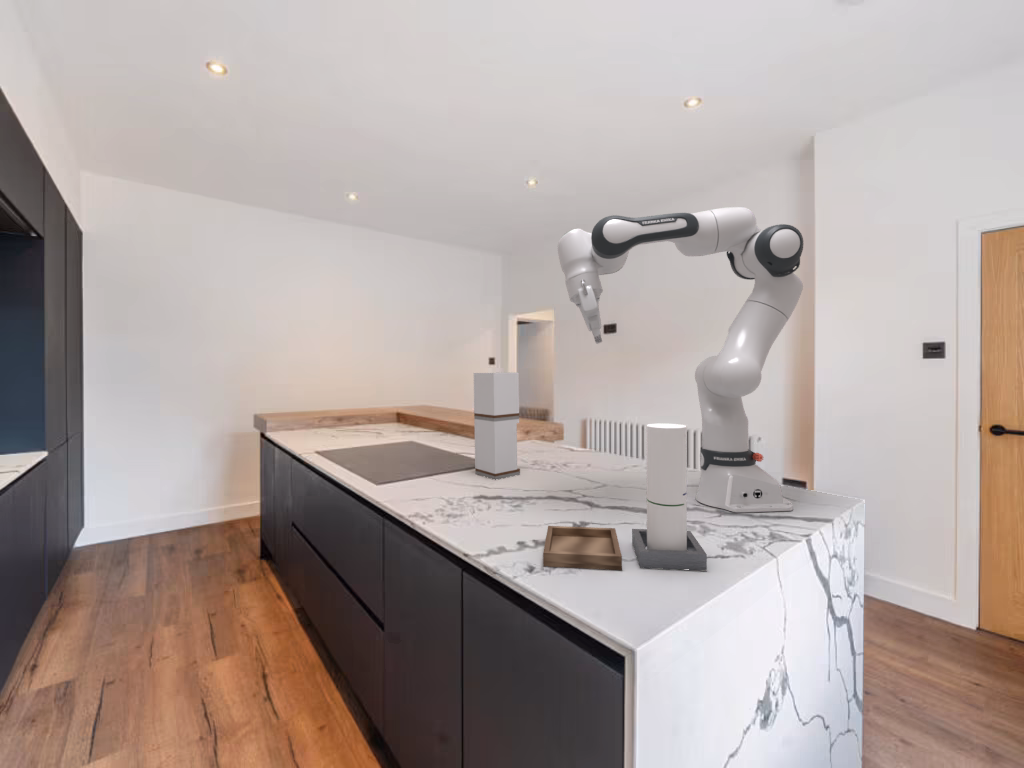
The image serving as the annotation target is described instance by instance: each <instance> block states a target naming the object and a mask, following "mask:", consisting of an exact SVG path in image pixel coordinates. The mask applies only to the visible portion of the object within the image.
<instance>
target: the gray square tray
mask: <svg viewBox="0 0 1024 768" xmlns="http://www.w3.org/2000/svg"><path fill="white" fill-rule="evenodd" d="M631 544H632V547H633V550H635V551H634V554H635V553H636V554H635V555H636V556H637V557H636V556H635V557H636V560H637V563H638V567H639V568H640V569H650V568H663V569H662V570H670V569H689V570H688V571H690V570H707V571H708V567H707V566H708V563H707V561H708V560H707V559H708V554H707V552H705V550H704V548H703V547H702V546H701V545H700V543H699V541H698V540H697V539H696V537H695V535H694V534H693V533H692V531H691V530H687V550H688V551H676V550H653V549H647V528H645V529H643V528H632V529H631Z"/></svg>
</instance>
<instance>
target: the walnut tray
mask: <svg viewBox="0 0 1024 768" xmlns="http://www.w3.org/2000/svg"><path fill="white" fill-rule="evenodd" d="M546 530H547V531H546V535H545V541H544V547H543V550H542V551H543V552H542V553H543V555H542V558H543V559H542V560H543V561H542V563H543V564H542V565H543V567H546V566H548V568H549V567H550V568H551V567H552V568H569V569H589V570H591V569H592V570H606V571H607V570H611V571H622V570H623V555H622V552H621V548H620V543H619V539H618V535H617V530H616V528H615V527H613V528H612V527H591V526H589V527H586V526H566V525H565V526H561V525H547V529H546Z"/></svg>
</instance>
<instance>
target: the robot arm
mask: <svg viewBox="0 0 1024 768" xmlns="http://www.w3.org/2000/svg"><path fill="white" fill-rule="evenodd" d="M664 242H671V243H674V245H675V247H676V249H677V250H678V251H679V253H681V254H682V255H683V256H685V257H703V256H707V255H709V256H710V255H713V254H718V253H723V252H726V257H727V259H728V261H729V263H730V267H731V270H732V272H733V273H734V274H735V275H736V276H737V277H739V279H743V280H751V281H753V280H754V286H753V288H752V291H751V293H750V295H749V296H748V298H747V299H746V301H744V304H743V305H742V307H741V308H740V310H739V312H738V313H737V314H736V317H735V318H734V319H733V321H732V323H731V324H730V326H729V328H728V330H727V336H726V339H725V341H724V343H723V346H722V347H721V350H720V352H719V353H718V354H717V355H712V356H709V357H707V358H704V360H702V361H701V362H700V363H699V365H698V366H697V367H696V368H695V371H694V379H695V383H696V386H697V387H696V388H697V395H698V401H699V406H700V413H701V422H702V423H701V440H702V441H701V447H700V451H699V465H700V466H699V467H700V469H701V471H700V478H699V479H700V480H699V484H698V488H697V492H696V495H695V500H696V501H697V502H699V503H701V504H703V505H706V506H710V507H713V508H718V509H722V510H726V511H730V512H733V513H758V512H759V513H760V512H761V513H763V512H764V513H765V512H788V511H789V512H790V511H793V510H794V506H793V503H792V502H791V501H790V500H788V499H787V498H785V497H783V492H782V489H781V486H780V482H779V481H778V480H777V479H776V478H774V476H772V475H771V474H769V473H768V472H767V471H765V470H764V469H763V468H762V467H760V466H759V465H757V464H756V463H759V462H760V463H761V462H763V460H764V455H763V454H761V453H759V452H754V451H753V450H751V449H749V418H748V416H747V414H746V412H745V409H744V404H743V397H745V396H747V395H750V394H752V393H754V392H755V391H756V390H757V389H758V388H759V386H760V384H761V380H762V371H763V368H764V365H765V363H766V361H767V358H768V355H769V352H770V350H771V348H772V346H773V344H774V343H775V341H776V340H777V338H778V336H779V335H780V334H781V332H782V331H783V329H784V327H785V326H786V324H787V322H788V321H789V319H790V318H791V316H792V314H793V313H794V311H795V309H796V307H797V304H798V302H799V300H800V299H801V298H800V297H801V295H802V293H803V290H804V285H803V283H804V282H803V281H802V279H801V278H800V276H798V275H797V274H795V272H796V271H797V270H798V269H799V268H800V265H801V256H802V253H803V250H804V237H803V235H802V233H801V231H800V230H799V229H798V228H797V227H795V226H794V225H791V224H783V223H781V224H775V225H771V226H768V227H766V228H765V229H764V230H762V229H760V228H759V227H758V225H757V219H756V216H755V214H754V212H753V211H752V210H751V209H749V208H747V207H744V206H729V207H719V208H714V209H713V208H712V209H708V210H703V211H697V212H690V213H689V212H673V213H665V214H657V215H649V216H648V215H647V216H641V217H630V216H629V217H628V216H623V215H617V214H616V215H613V214H612V215H609V216H605V217H603V218H602V219H600V220H599V221H598V222H597V223H596V224H595V225H594V226H593V229H592V231H591V232H588V231H585V230H584V229H582V228H578V227H577V228H573V229H571V230H569V231H566V233H564V234H563V235H562V236H561V238H559V240H558V244H557V254H558V260H559V263H560V264H559V265H560V268H561V271H562V272H563V275H564V278H565V279H564V280H565V287H566V289H567V294H568V297H569V301H570V302H572V303H574V305H576V307H577V308H578V309H579V310H580V313H581V315H582V318H583V320H584V322H585V325H586V327H587V329H588V331H589V332H591V333H592V336H593V338H594V342H595V344H597V345H599V344H601V343H602V342H603V340H602V334H601V330H600V329H602V320H601V314H600V313H601V312H600V307H599V305H600V303H599V302H600V298H601V296H602V295H601V294H602V293H603V291H604V290H603V286H602V284H601V278H600V276H604V275H610V274H615V273H617V272H619V271H621V269H622V268H623V267H624V266H625V264H626V261H627V260H628V256H629V251H631V250H632V249H633V248H636V247H637V246H639V245H640V246H641V245H647V244H654V243H664Z"/></svg>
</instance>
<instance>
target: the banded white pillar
mask: <svg viewBox="0 0 1024 768" xmlns="http://www.w3.org/2000/svg"><path fill="white" fill-rule="evenodd" d="M519 375H520V373H519V372H513V371H511V372H505V371H504V372H473V409H474V410H473V411H474V412H473V417H474V418H473V419H474V425H473V427H474V472H475V473H474V474H475V475H477V474H479V475H478V476H480V475H482V476H481V477H483V476H485V477H484V478H487V477H488V478H487V479H490V478H492V479H491V480H493V479H495V481H497V480H496V479H498V480H502V479H501V478H503V479H506V477H507V478H511V477H510V476H512V477H516V476H515V475H517V476H521V469H520V468H518V430H517V429H518V428H517V427H518V426H517V425H518V424H520V382H519V381H520V380H519V379H520V377H519Z"/></svg>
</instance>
